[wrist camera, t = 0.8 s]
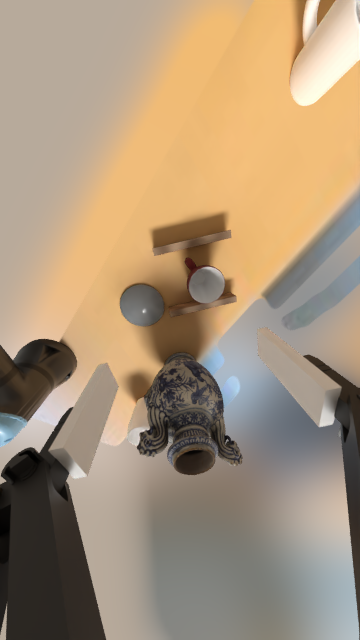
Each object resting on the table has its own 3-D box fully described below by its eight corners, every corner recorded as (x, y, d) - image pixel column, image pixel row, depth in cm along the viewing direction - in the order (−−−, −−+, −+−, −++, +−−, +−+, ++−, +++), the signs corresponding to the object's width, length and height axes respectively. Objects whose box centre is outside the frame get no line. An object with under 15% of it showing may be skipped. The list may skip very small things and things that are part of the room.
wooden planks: (170, 312, 48) (170, 317, 44) (153, 248, 41) (152, 248, 37) (231, 297, 48) (236, 301, 44) (224, 231, 41) (230, 229, 37)
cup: (147, 390, 59) (143, 422, 48) (163, 404, 62) (162, 437, 51) (127, 402, 60) (119, 436, 49) (144, 415, 64) (139, 450, 53)
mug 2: (310, -1, 28) (402, -160, 17) (338, 77, 32) (428, -12, 21) (270, 50, 30) (330, -63, 19) (301, 118, 34) (367, 55, 23)
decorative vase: (142, 382, 57) (126, 490, 31) (155, 335, 51) (147, 421, 25) (201, 391, 61) (228, 493, 35) (219, 348, 55) (269, 435, 29)
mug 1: (170, 271, 44) (172, 277, 34) (193, 248, 42) (201, 247, 33) (197, 298, 47) (204, 310, 38) (219, 278, 45) (232, 285, 36)
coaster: (129, 329, 49) (128, 330, 49) (113, 290, 44) (113, 290, 44) (168, 320, 49) (168, 320, 49) (157, 279, 44) (157, 280, 44)
